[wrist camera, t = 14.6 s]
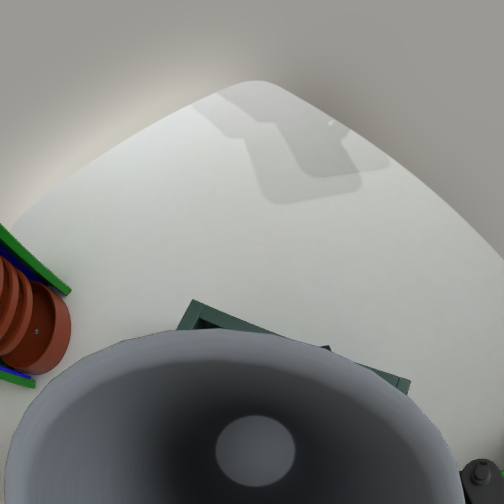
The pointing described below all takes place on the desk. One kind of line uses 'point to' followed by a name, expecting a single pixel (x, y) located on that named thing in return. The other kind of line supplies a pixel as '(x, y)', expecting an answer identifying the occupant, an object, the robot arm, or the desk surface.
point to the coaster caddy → (29, 314)
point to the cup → (225, 429)
